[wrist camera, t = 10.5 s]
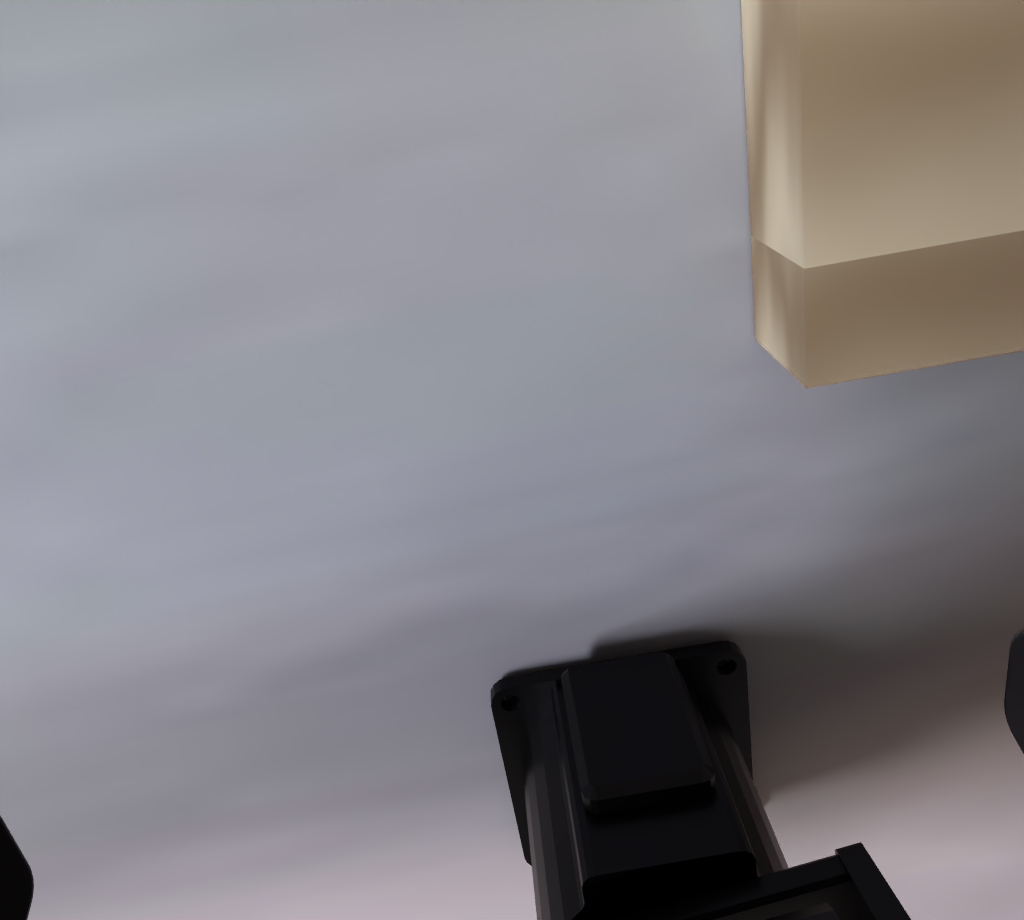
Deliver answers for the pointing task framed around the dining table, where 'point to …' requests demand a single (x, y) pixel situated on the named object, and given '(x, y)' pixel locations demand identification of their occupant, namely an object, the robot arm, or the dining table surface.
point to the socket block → (885, 182)
